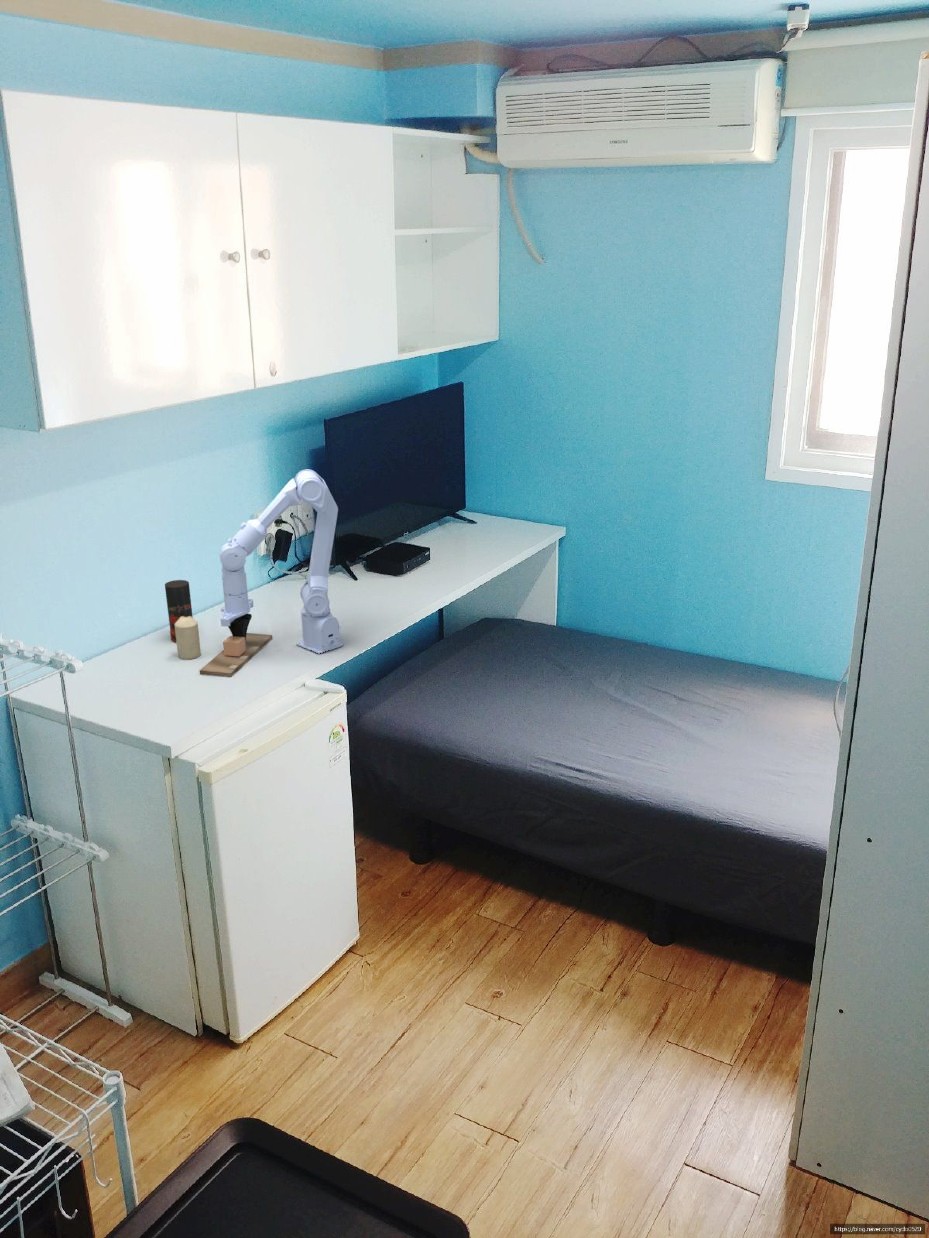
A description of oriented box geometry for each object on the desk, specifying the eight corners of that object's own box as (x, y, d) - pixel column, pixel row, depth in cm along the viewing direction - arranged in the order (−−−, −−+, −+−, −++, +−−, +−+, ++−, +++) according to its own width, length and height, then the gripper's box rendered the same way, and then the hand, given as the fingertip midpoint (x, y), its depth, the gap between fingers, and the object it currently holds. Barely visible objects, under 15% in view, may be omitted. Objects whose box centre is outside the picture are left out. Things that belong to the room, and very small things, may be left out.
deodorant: (167, 638, 277) (160, 583, 272) (188, 632, 281) (182, 578, 275) (177, 644, 273) (171, 589, 268) (198, 639, 276) (193, 584, 271)
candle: (173, 656, 266) (169, 619, 262) (190, 649, 270) (186, 612, 266) (189, 661, 263) (184, 623, 259) (205, 654, 267) (201, 616, 263)
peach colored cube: (231, 649, 266) (229, 635, 265) (246, 650, 266) (244, 637, 264) (224, 655, 263) (222, 641, 262) (239, 656, 262) (237, 643, 261)
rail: (243, 636, 278) (243, 632, 278) (272, 638, 276) (272, 634, 276) (199, 674, 255) (199, 670, 255) (231, 677, 253) (230, 672, 253)
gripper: (233, 581, 269) (237, 631, 274) (207, 600, 256) (212, 653, 261) (259, 583, 268) (263, 633, 273) (234, 602, 255) (239, 655, 260)
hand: (240, 643), depth 267 cm, fingers closed
